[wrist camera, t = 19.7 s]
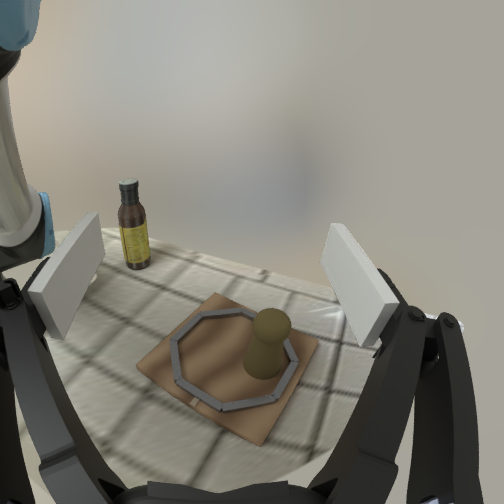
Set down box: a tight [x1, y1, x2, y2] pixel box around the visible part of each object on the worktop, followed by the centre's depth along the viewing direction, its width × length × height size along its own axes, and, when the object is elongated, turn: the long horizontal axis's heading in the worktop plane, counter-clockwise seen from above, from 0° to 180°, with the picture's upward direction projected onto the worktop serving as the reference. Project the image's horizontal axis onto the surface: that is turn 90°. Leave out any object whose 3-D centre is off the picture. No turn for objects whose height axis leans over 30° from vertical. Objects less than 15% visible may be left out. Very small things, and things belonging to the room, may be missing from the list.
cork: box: [243, 308, 291, 380], centre depth 37 cm, size 6×6×11 cm
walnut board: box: [136, 292, 319, 446], centre depth 41 cm, size 22×22×1 cm
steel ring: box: [169, 308, 299, 413], centre depth 41 cm, size 19×19×1 cm
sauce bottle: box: [118, 178, 150, 269], centre depth 54 cm, size 6×6×20 cm
